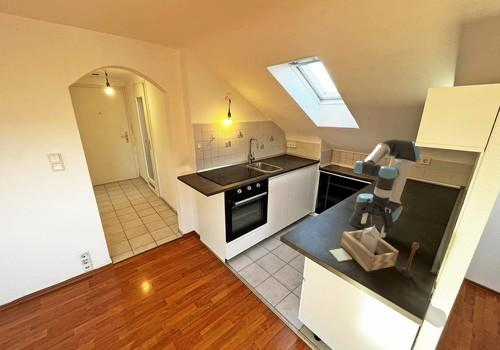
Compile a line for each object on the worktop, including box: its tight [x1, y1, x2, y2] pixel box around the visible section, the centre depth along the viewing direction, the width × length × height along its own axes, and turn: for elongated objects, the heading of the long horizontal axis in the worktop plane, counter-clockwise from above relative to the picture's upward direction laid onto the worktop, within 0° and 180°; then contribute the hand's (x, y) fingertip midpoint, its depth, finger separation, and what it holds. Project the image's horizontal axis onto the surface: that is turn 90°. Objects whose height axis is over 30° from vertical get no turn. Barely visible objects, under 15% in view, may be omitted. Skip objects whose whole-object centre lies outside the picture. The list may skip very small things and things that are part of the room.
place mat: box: [328, 247, 353, 263], centre depth 121 cm, size 9×9×1 cm
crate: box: [340, 228, 400, 272], centre depth 120 cm, size 18×22×10 cm
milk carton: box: [360, 224, 381, 255], centre depth 119 cm, size 7×7×19 cm
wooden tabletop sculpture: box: [399, 241, 420, 279], centre depth 106 cm, size 6×5×20 cm
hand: (372, 229), depth 116 cm, fingers open, 13 cm apart
